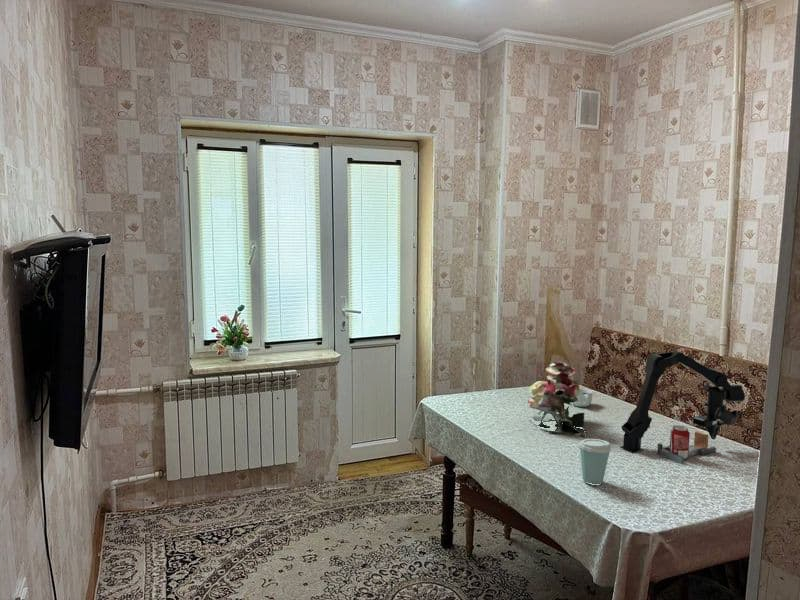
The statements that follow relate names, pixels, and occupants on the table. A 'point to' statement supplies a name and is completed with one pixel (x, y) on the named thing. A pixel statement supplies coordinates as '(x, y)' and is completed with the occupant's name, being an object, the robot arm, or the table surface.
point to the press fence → (669, 454)
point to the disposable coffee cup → (594, 459)
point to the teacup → (584, 398)
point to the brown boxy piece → (699, 443)
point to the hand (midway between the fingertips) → (713, 439)
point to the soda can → (679, 441)
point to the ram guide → (706, 450)
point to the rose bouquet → (557, 398)
